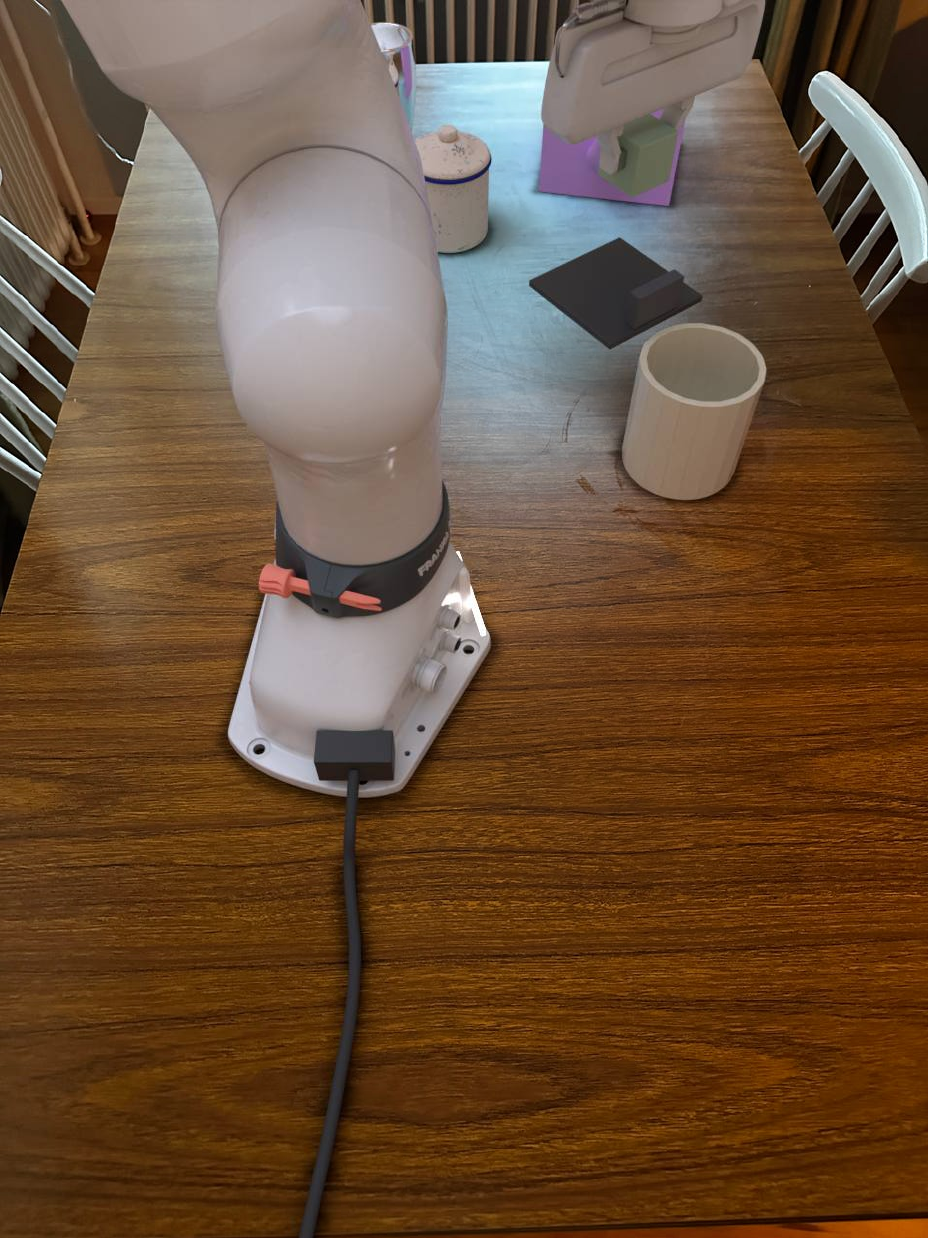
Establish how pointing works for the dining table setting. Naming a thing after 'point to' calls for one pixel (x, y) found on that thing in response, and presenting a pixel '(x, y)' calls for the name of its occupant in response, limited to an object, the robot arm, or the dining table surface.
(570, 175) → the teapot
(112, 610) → the dining table surface
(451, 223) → the teacup with lid
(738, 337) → the beige cylindrical container
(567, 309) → the slider lid
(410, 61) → the silver metal cup
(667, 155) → the block
